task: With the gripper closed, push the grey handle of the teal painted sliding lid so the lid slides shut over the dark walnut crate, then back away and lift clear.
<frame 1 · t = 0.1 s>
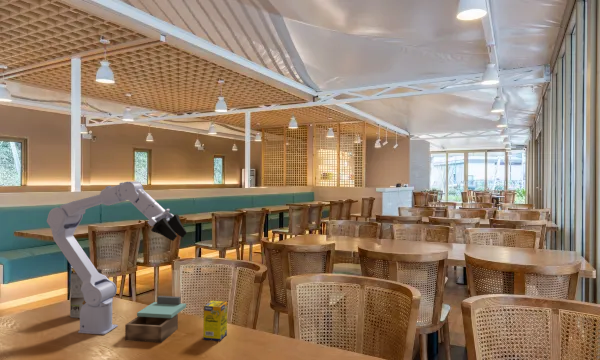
hand: (180, 236, 137), 32 cm above the table, tool tilted 50°, fingers open, 7 cm apart
crate: (152, 334, 137), on the table
supplement box: (215, 337, 135), on the table
coffee box: (86, 314, 156), on the table
lid: (162, 306, 144), point 7 cm above the table, slide at 7.0 cm
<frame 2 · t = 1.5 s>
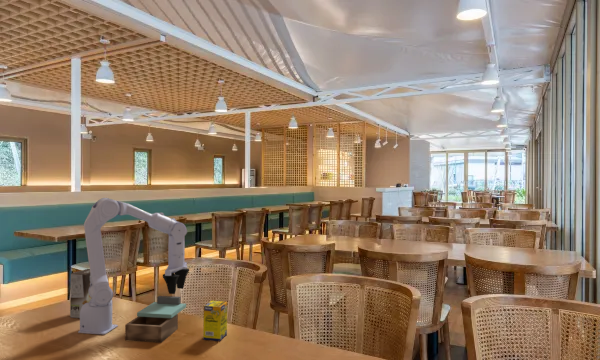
hand: (176, 290, 155), 9 cm above the table, tool pointing down, fingers open, 7 cm apart
nothing on the table moved.
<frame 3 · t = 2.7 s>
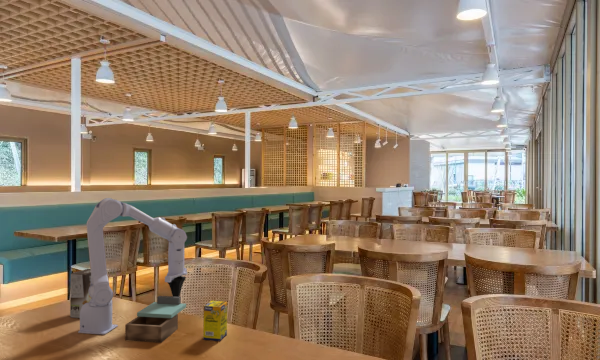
hand: (176, 297, 155), 7 cm above the table, tool pointing down, fingers closed
nothing on the table moved.
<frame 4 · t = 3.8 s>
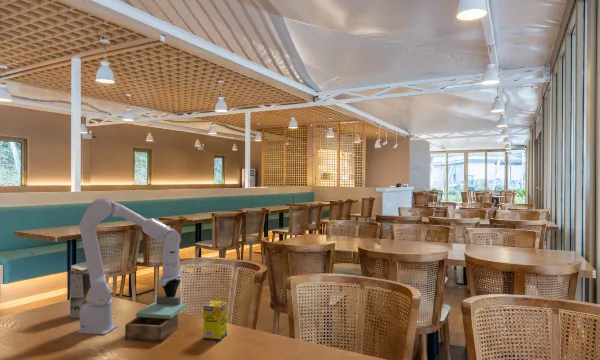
hand: (170, 300, 150), 7 cm above the table, tool pointing down, fingers closed
lid: (161, 306, 143), point 7 cm above the table, slide at 6.5 cm, touching gripper
everything else where it was.
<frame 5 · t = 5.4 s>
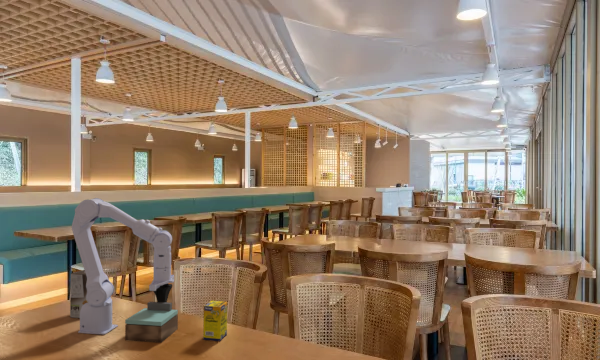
hand: (162, 306, 144), 7 cm above the table, tool pointing down, fingers closed
lid: (152, 312, 137), point 7 cm above the table, slide at 0.0 cm, touching gripper
everything else where it was.
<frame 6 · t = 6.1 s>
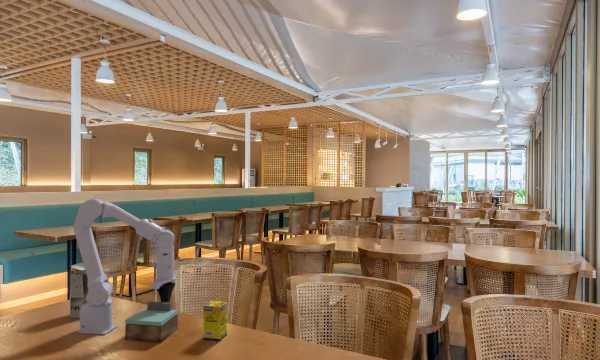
hand: (165, 304, 146), 7 cm above the table, tool pointing down, fingers closed
lid: (152, 312, 137), point 7 cm above the table, slide at 0.0 cm
everything else where it was.
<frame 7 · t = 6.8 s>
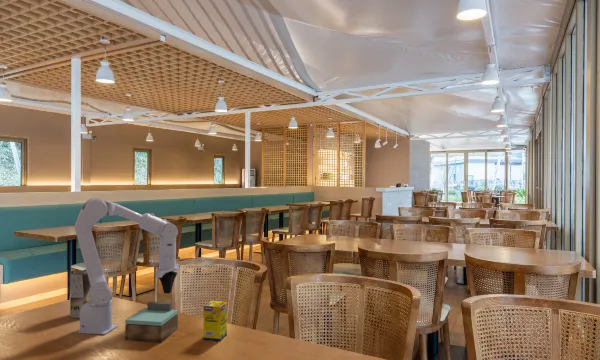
hand: (167, 292, 152), 9 cm above the table, tool pointing down, fingers closed
nothing on the table moved.
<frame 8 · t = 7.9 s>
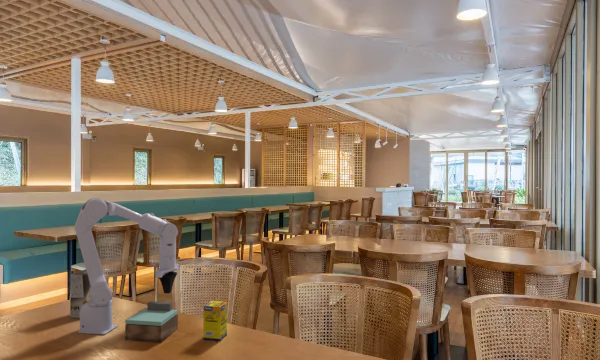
hand: (167, 292, 152), 9 cm above the table, tool pointing down, fingers closed
nothing on the table moved.
at the end: lid slide at 0.0 cm; supplement box moved 0.2 cm from its start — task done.
